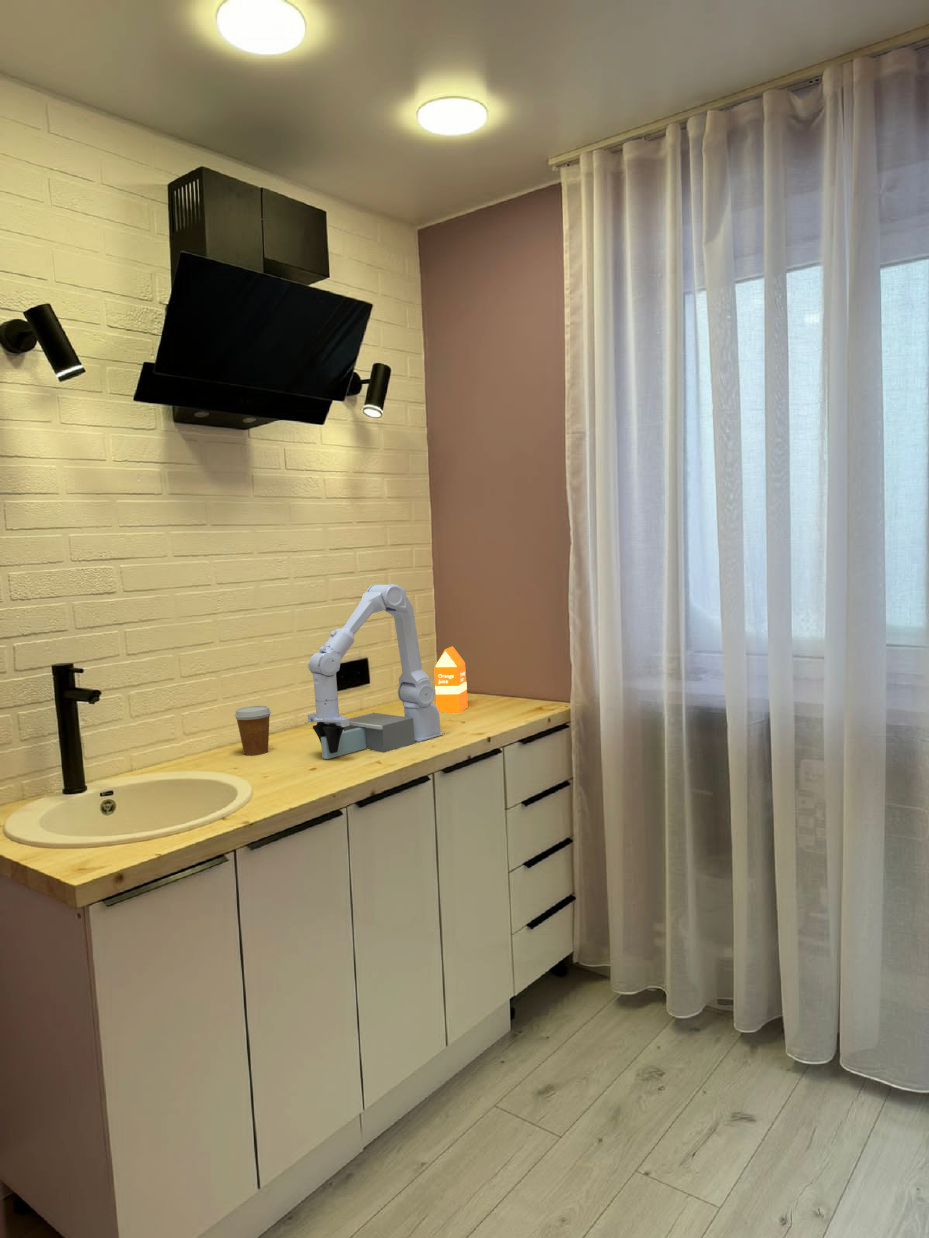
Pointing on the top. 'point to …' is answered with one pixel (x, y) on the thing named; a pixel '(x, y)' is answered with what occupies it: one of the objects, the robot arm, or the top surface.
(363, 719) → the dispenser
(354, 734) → the light blue rectangular block
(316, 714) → the robot arm
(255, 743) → the disposable coffee cup
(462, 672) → the orange juice
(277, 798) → the top surface
